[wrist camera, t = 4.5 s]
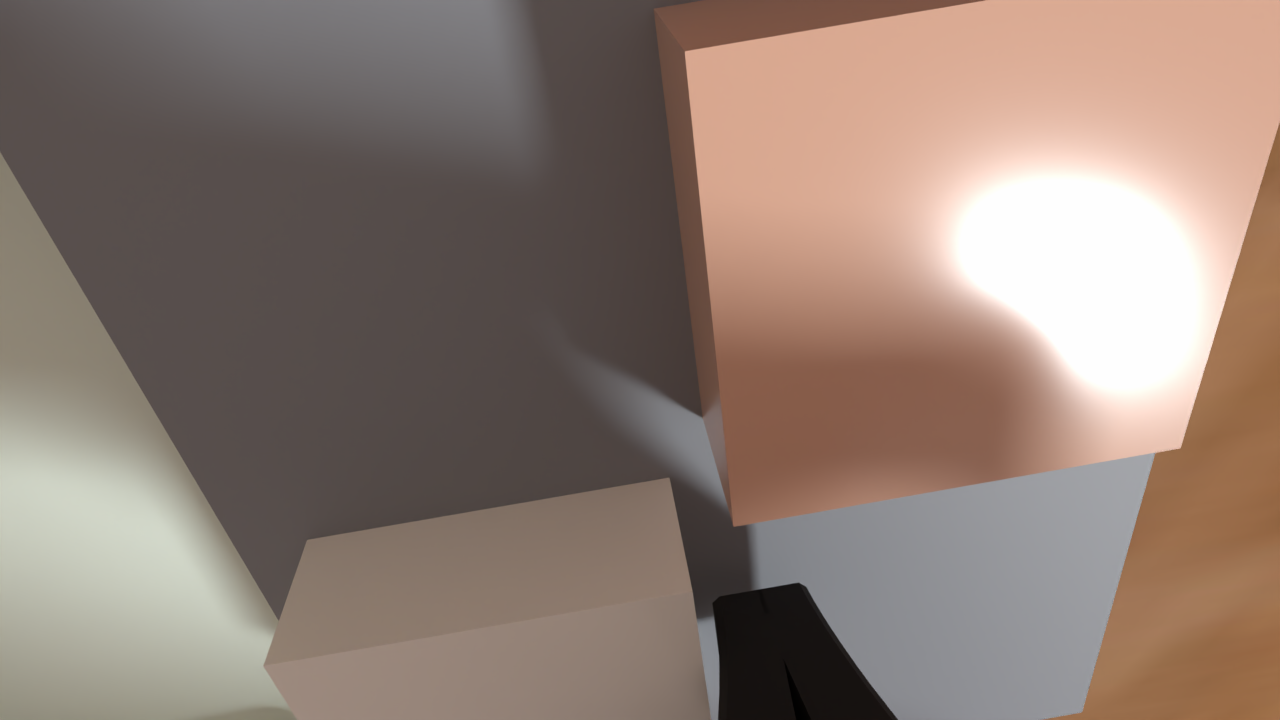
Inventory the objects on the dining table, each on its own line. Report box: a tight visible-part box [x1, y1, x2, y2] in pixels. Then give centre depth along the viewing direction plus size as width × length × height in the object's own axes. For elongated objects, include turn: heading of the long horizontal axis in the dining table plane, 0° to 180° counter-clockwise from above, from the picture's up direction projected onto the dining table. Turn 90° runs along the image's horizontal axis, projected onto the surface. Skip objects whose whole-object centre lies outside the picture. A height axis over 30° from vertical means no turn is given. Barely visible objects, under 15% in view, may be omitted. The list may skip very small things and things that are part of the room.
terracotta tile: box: [654, 0, 1280, 527], centre depth 8 cm, size 5×5×2 cm
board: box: [0, 0, 1155, 720], centre depth 12 cm, size 15×13×2 cm
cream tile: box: [263, 478, 711, 720], centre depth 11 cm, size 5×5×2 cm
